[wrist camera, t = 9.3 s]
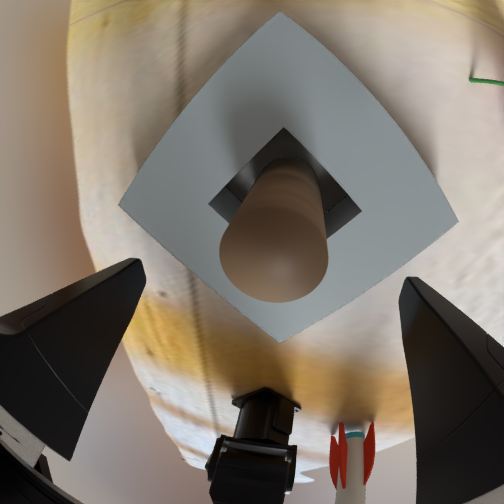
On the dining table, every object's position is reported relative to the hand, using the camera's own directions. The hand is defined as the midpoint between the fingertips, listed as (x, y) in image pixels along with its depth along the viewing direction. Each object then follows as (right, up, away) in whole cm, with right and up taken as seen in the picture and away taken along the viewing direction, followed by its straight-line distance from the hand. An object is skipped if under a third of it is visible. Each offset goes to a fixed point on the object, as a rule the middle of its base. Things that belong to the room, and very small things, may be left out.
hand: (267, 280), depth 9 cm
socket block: (+2, +5, +9) cm, 10 cm away
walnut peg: (+2, +5, +9) cm, 11 cm away
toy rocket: (+14, -25, +24) cm, 37 cm away
